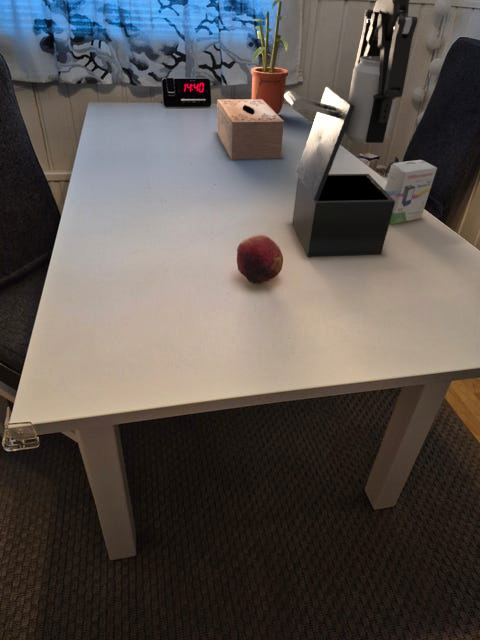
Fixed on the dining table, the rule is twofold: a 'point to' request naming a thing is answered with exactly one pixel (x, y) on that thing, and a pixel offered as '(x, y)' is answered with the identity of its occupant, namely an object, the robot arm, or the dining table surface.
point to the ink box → (409, 188)
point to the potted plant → (269, 68)
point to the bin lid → (321, 136)
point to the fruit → (259, 259)
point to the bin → (343, 216)
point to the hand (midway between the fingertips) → (365, 134)
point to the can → (364, 98)
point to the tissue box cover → (249, 129)
